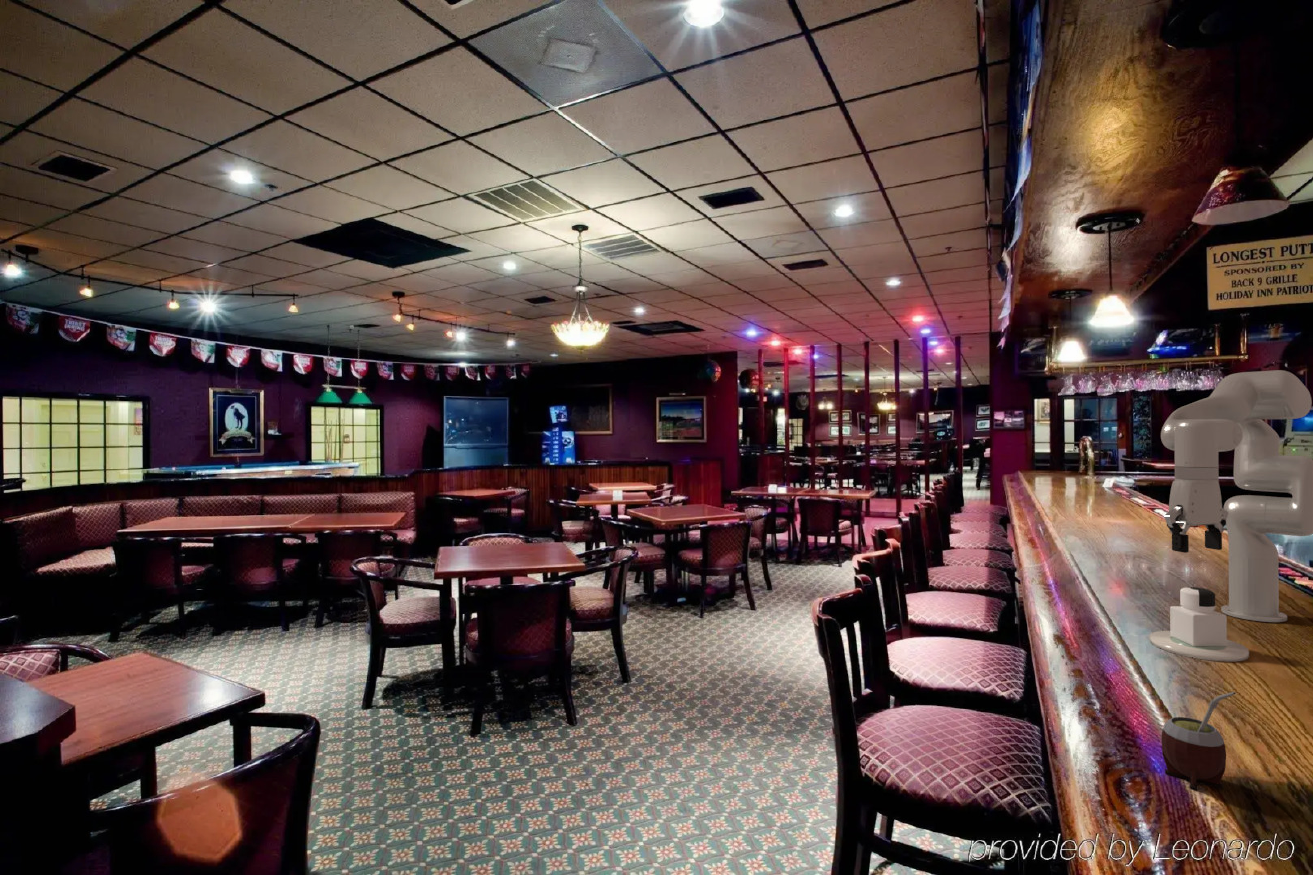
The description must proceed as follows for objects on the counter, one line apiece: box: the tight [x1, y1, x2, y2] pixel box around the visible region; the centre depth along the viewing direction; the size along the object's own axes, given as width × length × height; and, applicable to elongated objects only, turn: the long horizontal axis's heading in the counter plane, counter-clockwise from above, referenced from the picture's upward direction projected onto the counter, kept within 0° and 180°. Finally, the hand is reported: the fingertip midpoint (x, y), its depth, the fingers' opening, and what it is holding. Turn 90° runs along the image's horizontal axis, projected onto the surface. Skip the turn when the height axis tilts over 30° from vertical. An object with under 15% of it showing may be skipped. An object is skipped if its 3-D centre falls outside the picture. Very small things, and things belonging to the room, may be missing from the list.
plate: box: [1149, 630, 1250, 663], centre depth 143 cm, size 17×17×1 cm
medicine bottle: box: [1169, 586, 1228, 647], centre depth 143 cm, size 7×7×12 cm
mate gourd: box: [1161, 691, 1237, 792], centre depth 89 cm, size 8×8×15 cm
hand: (1196, 550), depth 142 cm, fingers open, 9 cm apart
